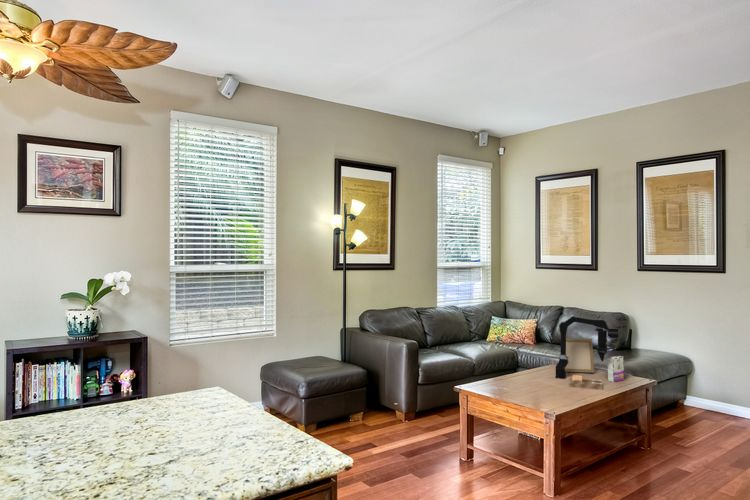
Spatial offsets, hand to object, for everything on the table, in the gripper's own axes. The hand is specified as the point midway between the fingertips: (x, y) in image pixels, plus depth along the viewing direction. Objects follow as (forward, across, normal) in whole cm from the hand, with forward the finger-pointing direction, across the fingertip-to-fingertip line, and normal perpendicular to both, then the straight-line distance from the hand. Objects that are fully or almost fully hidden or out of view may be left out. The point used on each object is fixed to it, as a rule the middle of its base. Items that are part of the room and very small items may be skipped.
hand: (602, 360), depth 348 cm
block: (+13, -20, +15) cm, 28 cm away
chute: (+14, -20, +10) cm, 27 cm away
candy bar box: (+15, +5, -8) cm, 17 cm away
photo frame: (+15, +25, +18) cm, 34 cm away
